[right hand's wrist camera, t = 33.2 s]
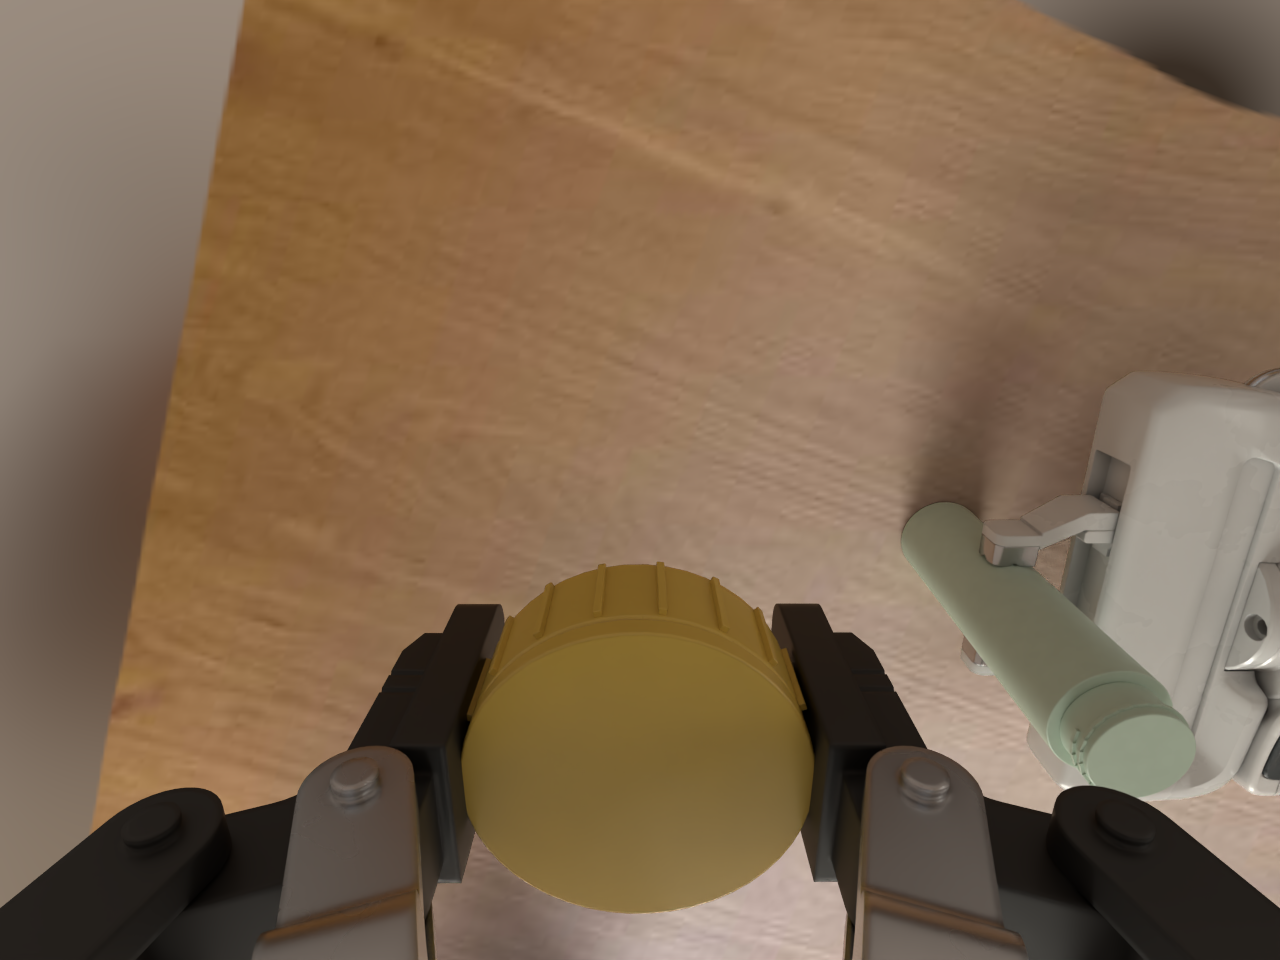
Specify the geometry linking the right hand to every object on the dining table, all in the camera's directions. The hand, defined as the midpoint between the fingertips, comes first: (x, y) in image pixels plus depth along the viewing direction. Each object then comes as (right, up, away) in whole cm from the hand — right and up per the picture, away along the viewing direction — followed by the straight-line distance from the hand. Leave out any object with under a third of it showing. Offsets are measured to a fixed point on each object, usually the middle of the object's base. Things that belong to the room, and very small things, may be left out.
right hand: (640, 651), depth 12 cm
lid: (0, -1, -3) cm, 3 cm away
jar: (+16, 0, +25) cm, 30 cm away
